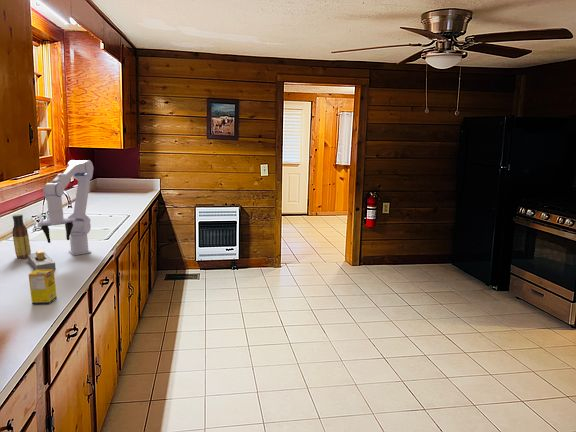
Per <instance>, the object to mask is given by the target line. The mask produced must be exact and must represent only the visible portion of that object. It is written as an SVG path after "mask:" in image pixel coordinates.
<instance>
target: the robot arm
mask: <svg viewBox="0 0 576 432" xmlns="http://www.w3.org/2000/svg"><path fill="white" fill-rule="evenodd" d="M94 169H95V168H94V165H93V162H92V161H91V160H90V159H88V160H86V159H85V160H84V159H83V160H80V159H79V160H75V159H71V160H69V161H68V162H67V167H66V169H65V171H64V172H63V173H58V174H57V175H56V176H55V178H53V179H52V180H51V181H50V182H47V183H45V184H44V185H43V189H42V192H43V195H44V198H45V201H46V203H47V213H48V220H44V221H39V222H38V221H37V226H38V228H40V229H42V231H43V234H44V235H45V237H46V240H47V243H48V244H51V237H50V228H49V227H51V226H61V225H65V227H64V229H65V238H66V241H69V244H70V250H68V252H69V253H70V254H71V255H73V256H78V255H84V254H91V253H92V251H91V250H90V249H89V242H88V240H89V239H88V234H89V233H90V231H91V227H92V226H91V218H90V217H89V216H88V215H86V213H87V205H88V198H89V190H90V183H91V180H92V179H93V175H94ZM72 178H73V179H75V180H77V186H76V187H77V188H76V194H75V200H74V207H73V208H74V209H73V213H72V214H70V215H69V216H67V218H64V209H63V198H62V196H63V195H64V192H65V190H66V189H65V188H67V186H68V185H69V184H70V183H71V181H70V179H72Z"/></svg>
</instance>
